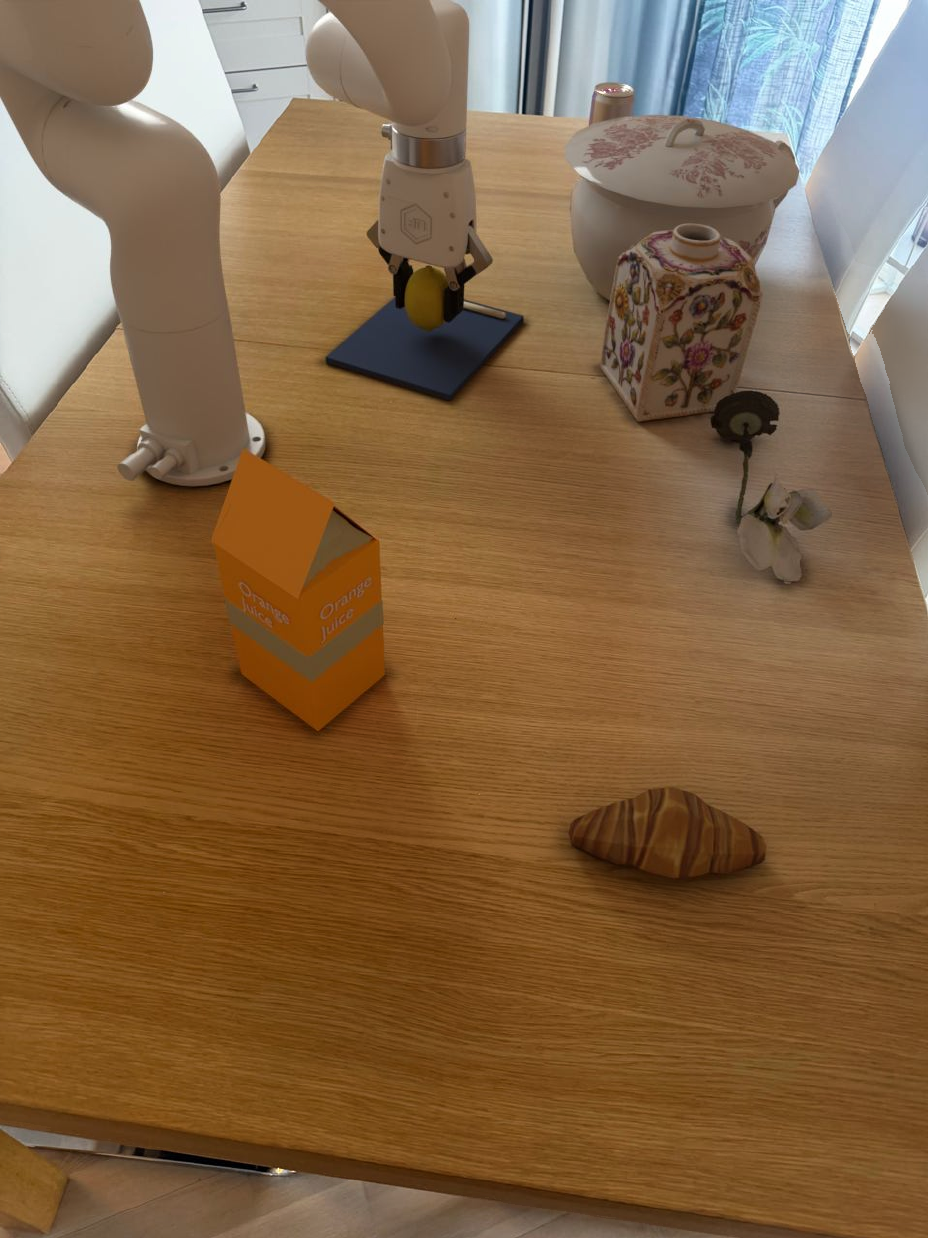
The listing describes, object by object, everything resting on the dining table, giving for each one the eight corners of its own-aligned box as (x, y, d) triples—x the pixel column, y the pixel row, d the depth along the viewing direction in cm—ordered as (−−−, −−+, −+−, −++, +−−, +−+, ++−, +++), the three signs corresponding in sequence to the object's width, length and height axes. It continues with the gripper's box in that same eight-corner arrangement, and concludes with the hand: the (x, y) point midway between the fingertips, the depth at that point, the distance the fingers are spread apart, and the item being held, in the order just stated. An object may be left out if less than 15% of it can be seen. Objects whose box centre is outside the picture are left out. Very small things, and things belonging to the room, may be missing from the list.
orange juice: (309, 621, 78) (284, 422, 64) (387, 674, 75) (379, 475, 60) (238, 675, 74) (194, 474, 59) (316, 734, 70) (290, 535, 56)
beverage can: (572, 192, 142) (585, 83, 131) (606, 187, 143) (621, 79, 133) (592, 207, 138) (607, 97, 127) (626, 202, 140) (644, 92, 129)
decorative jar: (634, 425, 100) (667, 263, 87) (595, 367, 107) (620, 211, 94) (735, 411, 102) (781, 252, 89) (689, 356, 110) (726, 202, 97)
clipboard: (450, 401, 102) (450, 388, 100) (325, 362, 106) (324, 350, 105) (523, 321, 114) (524, 309, 113) (409, 289, 119) (409, 278, 118)
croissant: (754, 816, 67) (773, 776, 63) (767, 903, 62) (789, 866, 58) (566, 798, 67) (575, 759, 63) (566, 884, 62) (575, 847, 59)
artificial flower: (776, 450, 99) (832, 382, 91) (780, 615, 86) (845, 551, 78) (701, 422, 98) (750, 350, 90) (692, 584, 85) (750, 517, 77)
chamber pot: (532, 325, 113) (549, 146, 98) (568, 231, 132) (587, 69, 117) (764, 361, 110) (818, 181, 95) (767, 259, 128) (814, 95, 113)
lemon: (454, 321, 111) (455, 256, 105) (449, 345, 107) (450, 279, 101) (408, 317, 111) (407, 252, 106) (401, 341, 108) (400, 275, 102)
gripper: (337, 140, 94) (347, 306, 107) (489, 174, 89) (481, 344, 102) (374, 117, 99) (380, 279, 112) (521, 149, 94) (509, 314, 107)
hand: (428, 308), depth 107 cm, fingers closed on lemon, 5 cm apart
